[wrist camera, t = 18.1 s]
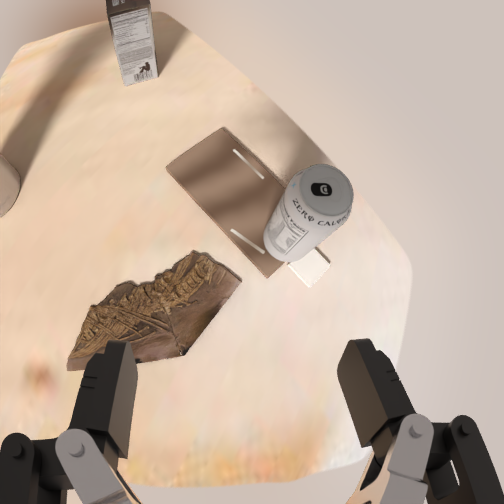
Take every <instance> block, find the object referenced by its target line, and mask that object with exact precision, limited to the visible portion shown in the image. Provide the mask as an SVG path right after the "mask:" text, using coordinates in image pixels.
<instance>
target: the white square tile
mask: <svg viewBox="0 0 504 504" xmlns="http://www.w3.org/2000/svg"><path fill="white" fill-rule="evenodd" d="M288 266H289V267H290V268H291V269H292V270H293V271H294V273H295V274H296V275H297V276H298V277H299V278H300V279H301V280H302V281H303V282H304V283H305V284H306V285H307V286H308V287H309V288H310V287H311V286H312V285H313V284H314V283H315V282H316V281H317V280H318V279H319V278H320V277H321V276H322V275H323V274H324V273H325V272H326V270H327V269H328V268H329V267H330V266H331V265H330V264H329V263H328V262H327V261H326V260H325V259H324V258H323V257H322V256H321V255H320V254H319V253H318V252H317V250H316V249H315V248H314V249H313V250H311V251H310V252H309V253H308V254H306V255H305V256H304V257H303V258H301V259H300V260H298V261H295V262H290V263H289V264H288Z"/></svg>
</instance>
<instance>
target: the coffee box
mask: <svg viewBox="0 0 504 504" xmlns="http://www.w3.org/2000/svg"><path fill="white" fill-rule="evenodd" d="M106 6H107V16H108V21H109V25H110V29H111V34H112V38H113V42H114V47H115V51H116V55H117V59H118V63H119V67H120V71H121V75H122V78H123V82H124V85H125V86H128V85H132V84H135V83H139V82H142V81H146V80H150V79H154V78H157V77H158V76H159V75H158V68H157V60H156V52H155V43H154V34H153V24H152V15H151V5H150V1H149V0H106Z"/></svg>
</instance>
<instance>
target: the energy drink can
mask: <svg viewBox="0 0 504 504" xmlns="http://www.w3.org/2000/svg"><path fill="white" fill-rule="evenodd" d="M353 196H354V194H353V188H352V185H351V183H350V181H349V179H348V178H347V177H346V176H345V175H344V174H343V173H342V172H341V171H340V170H338V169H337V168H335V167H333V166H330V165H326V164H316V165H313V166H311V167H309V168H306V169H303V170H301V171H299V172H298V173H296V174H295V175H294V176H293V177H292V179H291V180H290V182H289V184H288V186H287V188H286V190H285V192H284V193H283V195H282V197H281V199H280V201H279V203H278V205H277V207H276V209H275V210H274V212H273V214H272V216H271V218H270V220H269V222H268V224H267V226H266V228H265V230H264V235H263V240H264V244H265V247H266V249H267V250H268V252H269V253H270V254H271V255H272V256H273V257H274V258H276V259H278V260H280V261H283V262H295V261H298V260H300V259H301V258H303V257H304V256H305V255H306V254H308V253H309V252H310V251H311V250H313V249H314V248H315V247H316V246H317V245H319V244H320V243H321V242H322V241H324V240H325V239H326V238H327V237H328V236H330V235H331V234H332V233H333V232H334V231H336V230H337V229H338V228H339V227H340V226H341V225H343V224H344V223H345V222H346V221H347V219H348V217H349V215H350V212H351V208H352V202H353Z"/></svg>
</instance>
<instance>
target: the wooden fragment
mask: <svg viewBox="0 0 504 504" xmlns="http://www.w3.org/2000/svg"><path fill="white" fill-rule="evenodd" d="M241 282H242V281H240V280H239V279H237V278H236V277H235V276H234V275H233V274H232V273H230V272H229V270H228V269H227V268H226V267H225V266H223V265H220V264H215V263H213V262H212V261H211V260H210V259H209V258H208V257H207V256H204V255H201V256H199V255H197V254H195V253H193V252H191V253H190V255H189V256H186V257H185V259H183V260H182V261H180V262H178V263H177V264H175V265H174V266H173V267H172V270H170V271H168V272H164V273H163V274H161V275H157V276H155V283H153V284H143V285H140V286H138V287H137V286H134V285H132V284H130V283H125V284H122V285H120V286H117V287H115V288H114V290H113V291H112V293H110V294H109V295H108V296H107V297H106V298H105V299H104V301H103V302H101V303H99V305H97V306H91V307H90V308H89V312H88V314H87V317H86V319H85V321H84V322H83V325H82V328H81V332H80V334H79V336H78V338H77V341H76V344H75V347H74V350H73V351H72V352H71V354H70V356H69V357H68V362H67V371H76V370H85V368H86V364H87V362H88V361H89V360H90V359H91V358H92V356H93V355H94V354H95V353H102V354H104V351H105V348H106V345H107V342H108V340H121V341H129V342H130V344H131V348H132V351H133V355H134V358H135V362H136V364H138V363H144V362H151V361H157V360H161V359H166V358H167V359H168V358H174V357H179V356H184V355H185V354H186V353H187V352H188V350H189V348H190V347H191V346H192V345H193V344H194V342H195V341H196V340H197V338H198V337H199V336H200V335H201V333H202V332H203V331H204V329H205V328H206V327H207V325H208V324H209V323H210V322H211V320H212V319H213V318H214V317H215V315H216V314H217V313H218V312H219V310H220V309H221V308H222V306H223V305H224V303H226V301H227V300H228V299H229V297H230V296H231V295H232V293H233V292H234V291H235V289H236V288H237V287H238V285H239V284H240V283H241ZM179 350H181V354H182V355H180V351H179Z"/></svg>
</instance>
